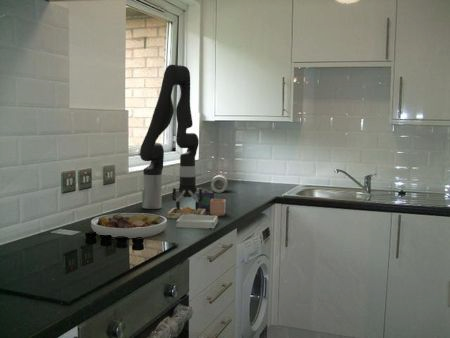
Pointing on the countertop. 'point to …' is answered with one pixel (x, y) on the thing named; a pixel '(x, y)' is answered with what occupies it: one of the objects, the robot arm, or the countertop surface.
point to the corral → (177, 214)
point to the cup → (217, 207)
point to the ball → (186, 210)
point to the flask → (205, 199)
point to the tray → (197, 221)
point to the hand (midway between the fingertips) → (187, 209)
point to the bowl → (129, 225)
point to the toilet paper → (219, 189)
